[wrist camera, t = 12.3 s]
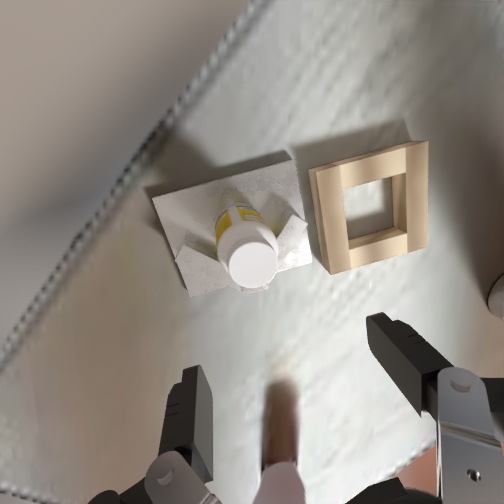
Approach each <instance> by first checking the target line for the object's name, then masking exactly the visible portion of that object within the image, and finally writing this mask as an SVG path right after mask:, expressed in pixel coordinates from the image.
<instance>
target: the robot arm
mask: <svg viewBox="0 0 504 504" xmlns="http://www.w3.org/2000/svg"><path fill="white" fill-rule="evenodd" d="M488 306H489V309H490V311H491V313H492V314H493V315H495V316H496V317H498V318H500V319H501V320H503V321H504V275H503V276H502V277H500V279H499V280H498V281H497V282H496V283H495V285H494V287H493V288H492V290H491V292H490V295H489V299H488ZM366 326H367V337H368V344H369V347H370V350H371V352H372V353H373V355H374V356H375V358H376V359H377V360H378V362H379V363H380V364H381V366H382V367H383V368H384V369H385V371H386V372H387V373H388V375H389V376H390V377H391V379H392V380H393V381H394V383H395V384H396V385H397V387H398V388H399V389H400V391H401V392H402V393H403V394H404V396H405V397H406V398H407V400H408V401H409V402H410V404H411V405H412V406H413V408H414V409H415V410H416V412H417V413H418V414H419V416H420V417H421V418H423V417H426V416H429V415H431V416H432V417H433V418H434V420H435V421H436V449H437V450H436V451H437V496H435V495H433V494H431V493H429V492H426V491H423V490H419V489H416V488H409V487H403V485H402V483H401V482H400V480H399V478H398V477H396V478H393V479H389V480H386V481H383V482H380V483H377V484H373V485H370V486H368V487H367V488H366V489H364V490H363V491H362V492H360V493H359V494H358V495H356V496H355V497H354V498H352V499H351V500H350V501H348V502H347V503H345V504H504V455H503V450H502V447H501V443H504V378H480V377H478V376H477V375H475V374H474V373H472V372H470V371H468V370H466V369H463V368H458V367H454V366H453V365H452V364H451V363H450V362H449V361H448V360H447V359H445V358H444V357H443V356H442V355H441V354H440V353H439V352H438V351H437V350H436V349H435V348H434V347H432V346H431V345H430V344H429V343H428V342H427V341H425V339H424V338H423V337H422V336H421V335H419V334H418V333H417V332H416V331H415V330H414V329H413V328H412V327H411V326H410V325H408V324H406V323H404V322H402V321H400V320H395V321H392V320H391V319H390V318H389V317H388V316H387V315H386V314H385V313H383V312H381V313H377V314H374V315H370V316H367V317H366ZM166 407H167V409H166V411H165V418H164V423H163V429H162V435H161V441H160V447H159V453H158V457H157V458H156V459H155V460H154V461H153V462H152V464H151V465H150V467H149V468H148V470H147V473H146V476H145V477H144V478H143V479H142V480H141V481H139V482H138V483H136V484H135V485H133V486H132V487H130V488H129V489H127V490H126V491H124V492H123V493H121V494H120V495H118V493H117V492H115V491H113V490H107V491H104V492H101V493H100V494H98V495H96V496H95V497H94V498H93V499H92V500H91V501H90V502H89V503H88V504H222V503H221V501H220V500H219V499H218V498H217V497H216V496H215V495H214V494H212V493H211V492H210V491H209V490H208V489H207V487H206V486H205V483H207V482H210V481H213V399H212V393H211V389H210V386H209V384H208V381H207V379H206V377H205V374H204V372H203V369H202V367H201V365H196V366H193V367H189V368H186V369H184V370H183V374H182V382H181V383H177V384H174V386H173V388H172V389H171V391H170V393H169V395H168V399H167V405H166Z"/></svg>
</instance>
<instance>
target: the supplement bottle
mask: <svg viewBox="0 0 504 504" xmlns="http://www.w3.org/2000/svg"><path fill="white" fill-rule="evenodd" d="M215 236H216V245H217V255H218V259H219V262H220V264H221V266H222V267H223V269H224V270H225V271H226V272H227V273H228V274H229V275H230V276H231V278H232V279H233V281H234V282H236V283H237V284H238V285H240V286H243V287H246V288H257V287H261V286H263V285H265V284H267V283H268V282H270V281H271V280H272V279H273V277H274V276H275V274H276V272H277V269H278V251H279V248H278V242H277V239H276V237H275V235H274V233H273V232H272V230H271V229H270V228H269V226H268V225H267V223H266V222H265V221H264V219H263V218H262V217H261V215H260V214H259V213H258V212H257V211H256V210H255V209H253V208H251V207H249V206H245V205H235V206H232V207H229V208H227V209H226V210H224V211H223V212H222V213H221V214H220V216H219V217H218V219H217V221H216V225H215Z"/></svg>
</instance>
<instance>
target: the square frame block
mask: <svg viewBox="0 0 504 504" xmlns="http://www.w3.org/2000/svg"><path fill="white" fill-rule="evenodd" d="M428 144H429V141H410V142H407V143H403V144H399V145H396V146H392V147H388V148H385V149H381V150H378V151H374V152H370V153H367V154H363V155H359V156H356V157H352V158H348V159H345V160H341V161H337V162H334V163H330V164H326V165H323V166H319V167H315V168H312V169H308V174H309V181H310V187H311V193H312V200H313V206H314V213H315V219H316V225H317V232H318V238H319V244H320V251H321V257H322V264H323V267H324V268H325V269H326V270H327V271H328V272H329V273H330V275H333V274H336V273H340V272H343V271H346V270H350V269H353V268H357V267H360V266H364V265H367V264H371V263H374V262H378V261H381V260H384V259H388V258H391V257H395V256H398V255H402V254H405V253H409V252H412V251H415V250H419V249H422V248H426V247H427V231H428ZM390 176H392V195H393V220H394V227H393V228H389V229H386V230H382V231H379V232H375V233H372V234H368V235H365V236H361V237H358V238H354V239H351V240H348V236H347V227H346V218H345V209H344V200H343V191H342V190H344V189H347V188H351V187H354V186H358V185H362V184H365V183H369V182H372V181H376V180H380V179H383V178H387V177H390Z"/></svg>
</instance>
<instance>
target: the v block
mask: <svg viewBox="0 0 504 504" xmlns="http://www.w3.org/2000/svg"><path fill="white" fill-rule="evenodd" d="M152 200H153V203H154V205H155V208H156V210H157V213H158V215H159V218H160V221H161V223H162V226H163V228H164V231H165V233H166V236H167V238H168V241H169V244H170V246H171V249H172V251H173V254H174V256H175V262H177V264H178V267H179V269H180V272H181V274H182V277H183V279H184V282H185V285H186V287H187V290H188V292H189V295H190V297H193V296H196V295H200V294H203V293H207V292H210V291H214V290H217V289H221V288H224V287H227V286H229V287H232V288H234V289H236V290H238V291H240V292H242V295H243V296H244V295H248V294H251V293H255V292H258V291H262V290H265V289H268V288H269V287H268V283H269V282H268V283H267V284H265V285H263V286H261V287H257V288H246V287H243V286H240V285H238V284H237V283H236V282H234V281H233V279H232V278H231V276H230V275H229V274H228V273H227V272H226V271H225V270H224V269H223V267H222V266H221V264H220V262H219V259H218V255H217V245H216V236H215V225H216V221H217V219H218V217H219V216H220V214H221V213H222V212H223V211H224V210H226V209H227V208H229V207H232V206H235V205H245V206H249V207H251V208H253V209H255V210H256V211H257V212H258V213H259V214H260V215H261V217H262V218H263V219H264V221H265V222H266V223H267V225H268V226H269V228H270V229H271V230H272V232H273V233H274V235H275V237H276V239H277V242H278V248H279V251H278V269H277V272H280V271H283V270H287V269H290V268H294V267H297V266H301V265H304V264H308V263H311V262H312V257H311V251H310V246H309V240H308V234H307V228H306V226H307V225H308V223H307V222H306V221H305V217H304V211H303V205H302V199H301V193H300V188H299V182H298V176H297V170H296V164H295V160H294V159H290V160H287V161H283V162H279V163H275V164H272V165H268V166H264V167H261V168H257V169H253V170H250V171H246V172H242V173H239V174H235V175H231V176H228V177H224V178H220V179H217V180H213V181H209V182H205V183H202V184H198V185H194V186H191V187H187V188H183V189H180V190H176V191H172V192H169V193H165V194H161V195H158V196H154V197H153V198H152Z"/></svg>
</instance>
